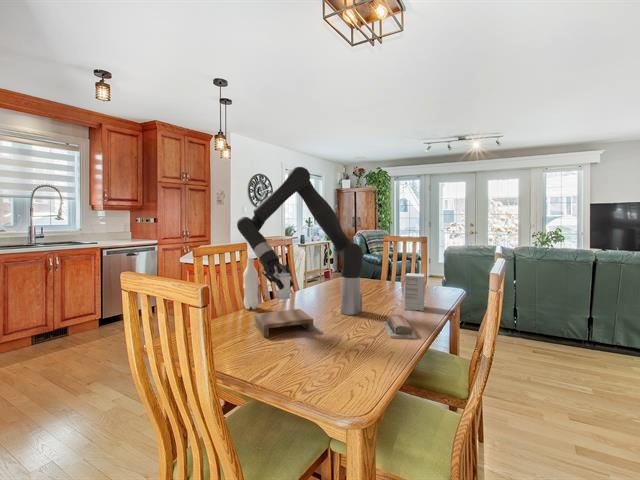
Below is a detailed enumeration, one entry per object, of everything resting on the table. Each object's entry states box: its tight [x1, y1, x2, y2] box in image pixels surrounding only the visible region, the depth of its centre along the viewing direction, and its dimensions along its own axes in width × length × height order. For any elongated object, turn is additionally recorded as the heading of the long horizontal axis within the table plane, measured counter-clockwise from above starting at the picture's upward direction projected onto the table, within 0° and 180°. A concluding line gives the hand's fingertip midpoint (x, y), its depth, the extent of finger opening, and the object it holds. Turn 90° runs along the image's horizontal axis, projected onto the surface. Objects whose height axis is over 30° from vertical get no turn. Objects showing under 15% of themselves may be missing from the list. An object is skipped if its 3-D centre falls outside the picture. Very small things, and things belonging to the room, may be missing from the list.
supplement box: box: [403, 272, 426, 312], centre depth 174 cm, size 10×9×17 cm
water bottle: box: [242, 257, 259, 310], centre depth 174 cm, size 7×7×25 cm
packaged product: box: [383, 314, 417, 339], centre depth 141 cm, size 18×5×10 cm
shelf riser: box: [254, 308, 314, 339], centre depth 144 cm, size 20×16×5 cm
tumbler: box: [277, 272, 291, 300], centre depth 143 cm, size 5×5×10 cm
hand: (287, 287), depth 142 cm, fingers closed on tumbler, 5 cm apart
